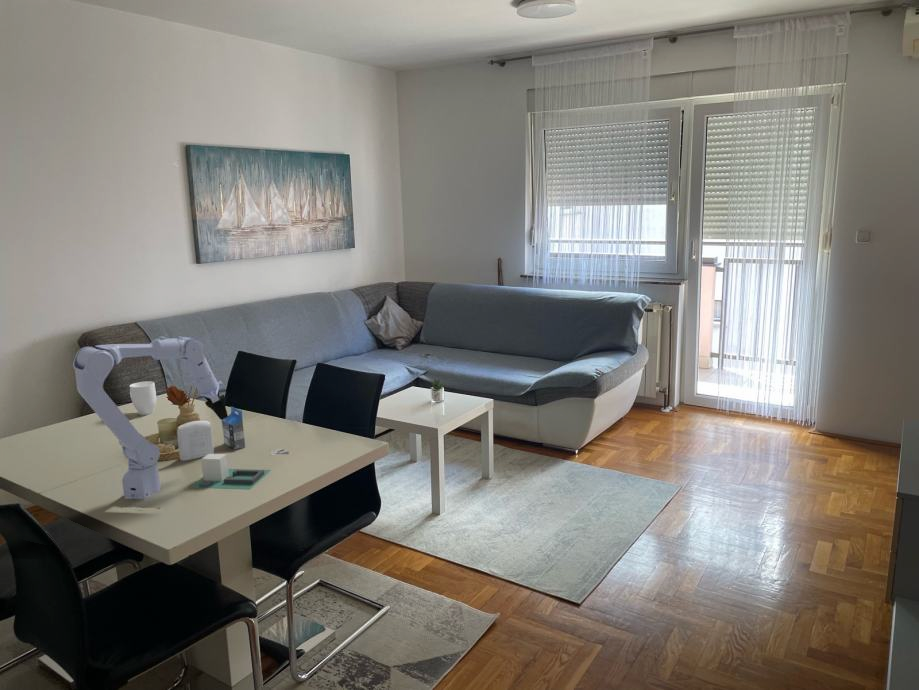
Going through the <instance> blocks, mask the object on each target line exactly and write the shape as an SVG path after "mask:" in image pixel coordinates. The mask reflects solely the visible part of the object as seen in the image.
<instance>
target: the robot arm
mask: <svg viewBox="0 0 919 690" xmlns="http://www.w3.org/2000/svg"><path fill="white" fill-rule="evenodd" d="M148 356H150V357H152V358H153V359H154V360H156V361H160V360H178V359H180V358H181V359H182V361H183V363H184V365H185V367H186V369H187V371H188V373H189V375H190V377H191V379H192V381H193V384H194V385H195V387H196V389H197V391H198V394H199V395H200V396H202V397H203V398H204V399H205V400H206V401H205V402H204V403H205V405H206V407H207V408H209V409H211V410H212V412H214V413H215V415H216V416H217V417H218V418H219V420H221V421H222V420H223V419H225V418H227V417H228V415H229V414H228V411H227V408H226V395H225V394H221V395H220V392H219V389H220V387H221V386H223V385H224V383H223V381H222V380H219V381H218V380H217V378H216V377H215V375H214V373H213V371H212V369H211V366H210V364H209V362H208V360H207V358H206V356H205V355H204V344H203V343H201V342H200V341H199V339H196V338H192V337H187V336H177V337H176V338H175V337H174V338H173V337H172V338H171V337H170V338H167V337H166V336H158V338H155V339H153V340H152V341H151V342H150V343H112V344H110V343H109V344H97V345H94V347H93V346H83V347H82V348H80V349H79V350H78V351H76V354H75V356H74V360H73V363H72V368H73V370H74V372H75V373H74V374H75V381H76V382H75V384H76V390H77V392H78V393H79V395H80V396H81V397H82V399H83V400H84V401H85V402H86V404H88V405H89V407H90V408H91V409H92V410H93V412H94V413H95V414H96V415H97V416H98V417H99V419H100V420H101V421H102V422H103V423H104V424H105V425H106V427H107V428H108V430H110V431H111V433H112V434H113V435H114V436H115V437H116V439H117V440H118V445H120V446H121V448H122V453H123V455H124V457H125V458H126V459H128V463H127V468H128V469H127V472H126V473H125V474H124V475H123V477H122V481H121V483H122V489H123V495H124V496H123V497H124V500H146V499H147V498H149V497H151V496H152V495H154V494H156V493H158V492H159V491H160V490H161V488H162V487H161V480H160V472H159V466H158V465H159V464H158V460H159V458H160V456H161V452H160V448H159V447H158V446H157V445H156V444H154V443H152V442H150V441H148V439H147V438H146V437H145V436H143V434H141V433H140V432H139V431H138V429H136V428H135V426H134V424H132V423H131V421H130V420H129V419H128V418H127V416H125V414H124V413H123V412H122V411H121V409H120V408H119V407H118V406H117V404H116V403H115V402H114V401H113V400H112V398H111V397H110V396H109V395H108V394H107V392H106V391H105V390H104V389H103V386H104V383H105V380H106V379H107V377H108V376H109V375H110V373H111V371H112V370H113V368H114V365H118V364H120V362H121V361H122V360H123V359H126V358H138V357H148Z"/></svg>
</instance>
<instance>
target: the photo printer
mask: <svg viewBox="0 0 919 690" xmlns="http://www.w3.org/2000/svg"><path fill="white" fill-rule="evenodd" d="M176 432H177V433H176V435H177V445H178V454H179V460H180V461H182V462H183V461H184V462H185V461H191V460H194V459H198V458H204V457H205V456H206V455H208V454H215V451H214V443H213V442H214V440H213V429H212V426H211V423H210V422H209V421H207V420H193V421H189V422H186V423H183V424H181V425H179V426H178V427H177V431H176Z"/></svg>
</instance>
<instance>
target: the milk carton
mask: <svg viewBox="0 0 919 690" xmlns="http://www.w3.org/2000/svg"><path fill="white" fill-rule="evenodd" d="M230 410H231V411H230V413H229V414H227V415H228V417H227V418H225V419H223V420H221V426H222V433H223V443H224V444H225V445H226V446H227V447H229V448H231V449H233V450H236V451H237V450H240V449H241V450H242V449H243V448H246V442H245V432H244V423H243V422H244V421H243V410H240V409H238V408H236V407H235V406H232V405H231V406H230Z"/></svg>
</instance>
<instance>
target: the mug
mask: <svg viewBox="0 0 919 690" xmlns="http://www.w3.org/2000/svg"><path fill="white" fill-rule="evenodd" d="M155 384H156V383H155V382H154V381H148V380H147V381H145V380H144V381H139V382H134V383H131V384H130V385H129V395H130V399H131V402H132V405H133V406H134V408H135V410H136V411H137V412H138V414H139V416H140V415H141V416H147V415H152V414H154V412H155V409H156V404H157V392H156V386H155Z"/></svg>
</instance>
